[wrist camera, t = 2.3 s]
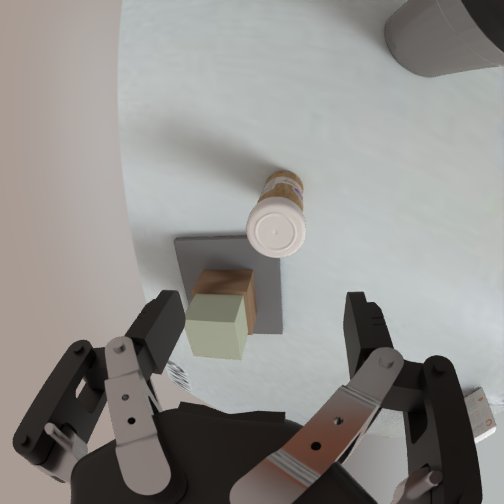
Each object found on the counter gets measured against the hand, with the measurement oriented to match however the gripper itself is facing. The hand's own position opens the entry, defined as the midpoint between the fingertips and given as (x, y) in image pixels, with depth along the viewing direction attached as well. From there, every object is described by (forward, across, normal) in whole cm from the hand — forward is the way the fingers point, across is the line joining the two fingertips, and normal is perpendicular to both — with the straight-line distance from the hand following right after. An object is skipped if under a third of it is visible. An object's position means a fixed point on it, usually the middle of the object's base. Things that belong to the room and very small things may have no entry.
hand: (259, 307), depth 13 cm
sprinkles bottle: (+23, 0, 0) cm, 23 cm away
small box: (+22, -49, +52) cm, 75 cm away
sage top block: (+16, +8, +14) cm, 23 cm away
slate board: (+22, +8, +14) cm, 28 cm away
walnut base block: (+21, +8, +14) cm, 27 cm away
